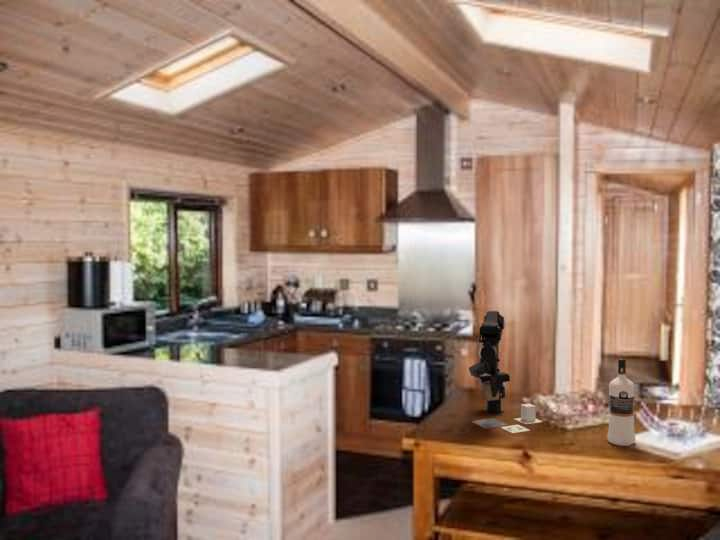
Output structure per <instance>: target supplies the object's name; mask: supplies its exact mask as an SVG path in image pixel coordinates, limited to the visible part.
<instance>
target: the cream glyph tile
mask: <svg viewBox="0 0 720 540" xmlns="http://www.w3.org/2000/svg"><path fill="white" fill-rule="evenodd" d="M500 428H501V429H503V430H504V431H506V432H507V431H508V432H509V433H511V434H517V433H523V432H529V431H531V430H530V429H528V428H527V427H524V426H523V425H520V424H512V425H506V426H500Z"/></svg>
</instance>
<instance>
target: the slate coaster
mask: <svg viewBox="0 0 720 540" xmlns="http://www.w3.org/2000/svg"><path fill="white" fill-rule="evenodd" d="M471 422H472V423H474V424H476V425H478V426H479V427H481V428H484V429H491V428H497V427H499V428H500V427H505V426H508V424H507V423H505V422H502V421H500V420H499V419H496V418H494V417H492V418H485V419H484V418H483V419H478V420H471Z"/></svg>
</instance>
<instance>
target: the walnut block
mask: <svg viewBox="0 0 720 540" xmlns="http://www.w3.org/2000/svg"><path fill="white" fill-rule="evenodd" d="M480 398H481V399H482V400H485V401H486V400H487V401H490V400H497V399H499V391H498V393H497V395H496V397H493V396H492V387H491V383H490V382H482V383H481V382H480Z"/></svg>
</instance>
